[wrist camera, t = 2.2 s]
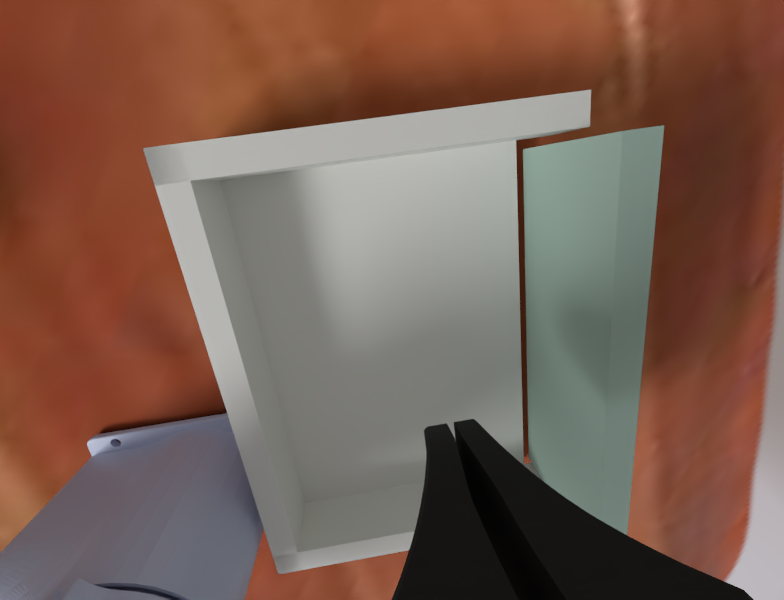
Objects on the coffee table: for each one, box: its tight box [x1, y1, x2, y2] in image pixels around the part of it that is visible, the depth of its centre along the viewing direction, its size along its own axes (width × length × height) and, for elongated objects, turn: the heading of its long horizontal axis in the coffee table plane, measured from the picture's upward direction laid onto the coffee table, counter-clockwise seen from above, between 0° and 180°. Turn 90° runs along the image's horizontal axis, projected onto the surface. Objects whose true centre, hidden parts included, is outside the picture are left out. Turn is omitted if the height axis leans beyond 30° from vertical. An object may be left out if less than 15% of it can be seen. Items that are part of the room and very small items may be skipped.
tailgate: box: [523, 125, 664, 535], centre depth 16 cm, size 1×17×6 cm, turn 7°
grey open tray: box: [143, 90, 591, 574], centre depth 18 cm, size 16×20×4 cm
